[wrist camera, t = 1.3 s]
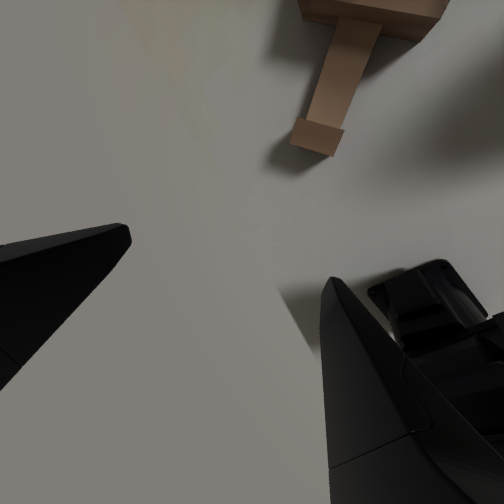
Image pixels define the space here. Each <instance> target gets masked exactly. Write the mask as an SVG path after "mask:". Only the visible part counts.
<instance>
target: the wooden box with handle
mask: <svg viewBox="0 0 504 504" xmlns="http://www.w3.org/2000/svg"><path fill="white" fill-rule="evenodd" d="M449 1H450V0H298V3H299V7H300V11H301V14H302V18H303V20H308V21H313V22H318V23H323V24H328V25H333V26H336V28H335V31H334V34H333V37H332V40H331V44H330V47H329V50H328V53H327V56H326V59H325V62H324V65H323V68H322V71H321V74H320V77H319V80H318V83H317V86H316V90H315V93H314V96H313V99H312V102H311V105H310V108H309V111H308V114H307V117H306V119H303V118H299V117H297V119H296V123H295V126H294V129H293V133H292V136H291V139H290V142H289V143H290V144H293V145H296V146H300V147H303V148H306V149H309V150H313V151H316V152H319V153H323V154H326V155H329V156H332V157H333V156H334V154H335V151H336V149H337V147H338V144H339V142H340V140H341V137H342V135H343V133H344V130H342V129H340V127H341V125H342V122H343V120H344V117H345V115H346V113H347V110H348V108H349V105H350V103H351V100H352V98H353V96H354V93H355V91H356V88H357V86H358V84H359V81H360V79H361V76H362V74H363V72H364V69H365V67H366V64H367V62H368V60H369V57H370V55H371V52H372V50H373V47H374V45H375V43H376V40H377V38H378V35H385V36H390V37H395V38H400V39H405V40H410V41H415V42H421V41H422V39H423V38H424V37H425V36H426V35H427V34H428V32H429V31H430V30H431V29H432V28H433V27H434V26H435V24H436V23H437V22H438V21H439V20H440V19H441V17H442V15H443V13H444V11H445V9H446V7H447V5H448V3H449Z"/></svg>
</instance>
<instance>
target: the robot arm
mask: <svg viewBox="0 0 504 504" xmlns="http://www.w3.org/2000/svg"><path fill="white" fill-rule="evenodd" d="M131 243H132V239H131V235H130V231H129V227H128V226H127V225H124V224H121V223H113V224H108V225H103V226H98V227H93V228H87V229H82V230H77V231H72V232H66V233H61V234H56V235H51V236H46V237H40V238H36V239H30V240H25V241H19V242H14V243H9V244H6V245H0V391H1V390H2V389H3V388H4V387H5V385H6V384H7V383H8V382H9V381H10V380H11V379H12V378H13V377H14V376H15V375H16V374H17V373H18V371H19V370H20V369H21V368H22V366H24V365H25V364H26V362H27V361H28V360H29V359H30V358H31V357H32V356H33V355H34V354H35V353H36V352H37V351H38V350H39V348H40V347H41V346H42V345H43V344H44V343H45V342H46V341H47V340H48V339H49V338H50V337H51V336H52V334H53V333H54V332H55V331H56V330H57V329H58V328H59V327H60V326H61V325H62V324H63V323H64V321H65V320H66V319H67V318H68V317H69V316H70V315H71V314H72V313H73V312H74V311H75V310H76V309H77V308H78V307H79V305H80V304H81V303H82V302H83V301H84V300H85V299H86V298H87V297H88V296H89V295H90V293H92V291H93V290H94V289H95V288H96V287H97V286H98V285H99V284H100V283H101V282H102V281H103V280H104V279H105V277H106V276H107V275H108V274H109V273H110V272H111V270H112V269H113V268H114V267H115V266H116V264H117V263H118V262H119V260H120V259H121V257H122V256H123V255H124V254H125V252H126V251H127V250H128V248H129V247H130V246H131ZM443 264H444V265H445V266H443V267H439V266H440V265H443ZM372 292H376V293H375V294H372ZM367 294H368V296H369V297H370V299H371V300H372V301H373V302H374V303H375V304H376V306H377V307H378V308H379V309H380V310H381V312H382V313H383V314H384V315H385V316H386V317H387V319H388V320H389V321H390V324H391V328H392V331H393V334H394V338H395V341H396V342H395V341H394V340H393V339H392V338H391V336H390V335H389V334H388V333H387V332H386V331H385V329H384V328H383V327H382V326H381V325H380V324H379V322H378V321H377V320H376V319H375V318H374V317H373V316H372V314H371V313H370V312H369V311H368V310H367V309H366V307H365V306H364V305H363V304H362V303H361V302H360V300H359V299H358V298H357V297H356V296H355V295H354V293H353V292H352V291H351V290H350V289H349V288H348V286H347V285H346V284H345V283H344V282H343V281H342V280H341V279H340V278H336V277H330V278H329V279H328V281H327V283H326V285H325V287H324V289H323V291H322V295H321V311H320V345H321V360H322V375H323V389H324V390H323V391H324V406H325V421H326V437H327V452H328V468H329V485H330V501H331V504H504V312H501V313H498V314H496V315H493V316H492V317H493V318H491V319H489V320H487V319H486V318H487V317H488V313H487V312H486V310H485V309H484V308H483V306H482V305H481V304H480V302H479V301H478V300H477V298H476V297H475V296H474V294H473V293H472V292H471V290H470V289H469V288H468V287H467V285H466V284H465V283H464V281H463V280H462V279H461V277H460V276H459V275H458V273H457V272H456V271H455V269H454V268H453V267H452V265H451V264H450V263H449V262H448V261H447V260H444V259H440V260H437V261H434V262H432V263H429V264H427V265H425V266H422V267H420V268H417V269H413V270H411V271H408V272H406V273H404V274H401V275H399V276H396V277H394V278H392V279H389V280H387V281H385V282H383V283H381V284H378V285H376V286H373V287H371V288H369V289H368V290H367Z"/></svg>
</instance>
